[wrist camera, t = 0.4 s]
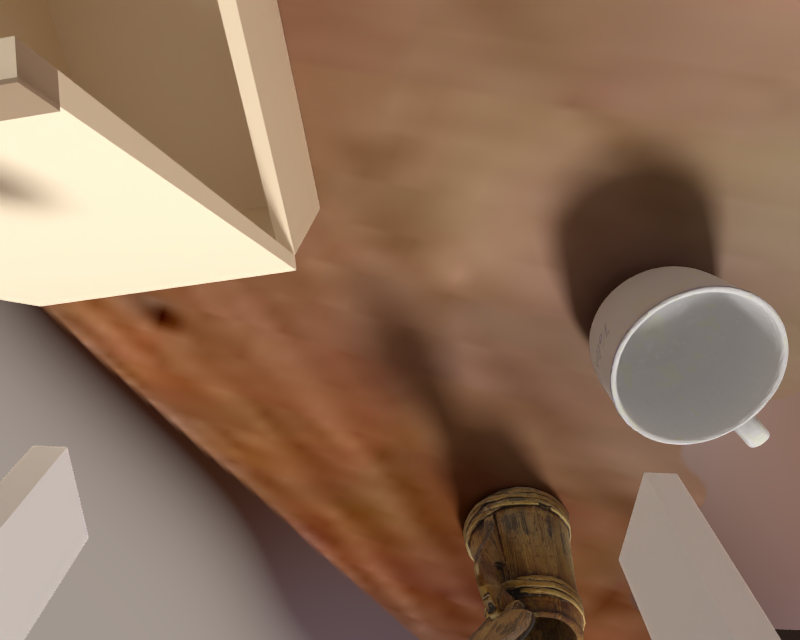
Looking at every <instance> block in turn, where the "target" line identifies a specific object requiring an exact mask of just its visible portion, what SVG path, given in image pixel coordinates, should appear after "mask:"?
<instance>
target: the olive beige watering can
mask: <svg viewBox="0 0 800 640" xmlns="http://www.w3.org/2000/svg"><path fill="white" fill-rule="evenodd" d="M463 536H464V540H465V544H466V547H467V550H468V553H469V556H470V557H471V558H472V560H473V561H474V570H475V576H476V581H477V586H478V589H479V592H480V595H481V598H482V600H483V603H484V605H485V609H484V615H485V618H486V620H485V621H484V623H483V624H482V625H481V626H480V627H479V628H478V630H477V631H476V632H474V633H473V634H472V635H471V636H470V637H469V638H468V639H467V640H584V634H583V631H584V626H585V616H584V609H583V605H582V600H581V598H580V597H579V595H578V593H577V588H576V581H575V574H574V567H573V560H572V553H571V546H570V540H571V530H570V521H569V514H568V512H567V511H566V509H565V507H564V506H563V504H561V503H560V502H559V501H558V500H557V499H556V498H555V497H553V496H551V495H550V494H548V493H546V492H543V491H540V490H538V489H535V488H531V487H513V488H508V489H504V490H500V491H499V492H497V493H494V494H491V495H490V496H488V497H486V498H485V499H483V500H482V501H480V502H479V503H477V504H476V505H475V506H474V508H473V509H472V510H471V511H470V512H469V514H468V517H467V519H466V521H465V524H464V529H463Z"/></svg>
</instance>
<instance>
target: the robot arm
mask: <svg viewBox="0 0 800 640" xmlns="http://www.w3.org/2000/svg"><path fill="white" fill-rule="evenodd" d="M88 538H89V537H88V533H87V528H86V524H85V521H84V516H83V512H82V507H81V503H80V499H79V495H78V491H77V486H76V483H75V478H74V474H73V469H72V465H71V461H70V457H69V453H68V448H67V447H55V446H32V447H31V448H30V449H29V450H28V452H27V453H26V454H25V455H24V456H23V457H22V458H21V459H20V460H19V461H18V463H17V464H16V465H15V466H14V467H13V468H12V469H11V470H10V471H9V472H8V473H7V475H6V476H5V477H4V478H3V479H2V480H1V481H0V640H25V638H26V636H27V635H28V633H29V632H30V630H31V628H32V627H33V625H34V624H35V622H36V621H37V619H38V617H39V616H40V614H41V613H42V611H43V609H44V608H45V606H46V605H47V603H48V602H49V600H50V598H51V597H52V595H53V594H54V592H55V590H56V589H57V587H58V586H59V584H60V582H61V581H62V579H63V578H64V576H65V574H66V573H67V571H68V570H69V568H70V567H71V565H72V563H73V562H74V560H75V559H76V557H77V555H78V554H79V552H80V551H81V549H82V548H83V546H84V544H85V543H86V541H87V540H88ZM619 562H620V564H621V566H622V569H623V571H624V574H625V576H626V579H627V581H628V583H629V586H630V588H631V591H632V593H633V595H634V598H635V600H636V603H637V605H638V608H639V610H640V612H641V615H642V617H643V620H644V622H645V625H646V627H647V629H648V632H649V634H650V637H651V639H652V640H800V630H779V629H774V628H773V626H772V624H771V623H770V621H769V620H768V618H767V616H766V615H765V613H764V612H763V610H762V608H761V607H760V605H759V604H758V602H757V600H756V599H755V597H754V596H753V594H752V592H751V591H750V589H749V588H748V586H747V584H746V583H745V581H744V580H743V578H742V577H741V575H740V573H739V572H738V570H737V569H736V567H735V565H734V564H733V562H732V561H731V559H730V557H729V556H728V554H727V553H726V551H725V549H724V548H723V546H722V545H721V543H720V541H719V540H718V538H717V537H716V535H715V534H714V532H713V530H712V529H711V527H710V526H709V524H708V522H707V521H706V519H705V518H704V516H703V514H702V513H701V511H700V510H699V508H698V506H697V505H696V503H695V502H694V500H693V498H692V497H691V495H690V494H689V492H688V490H687V489H686V487H685V486H684V484H683V483H682V481H681V479H680V478H679V476H678V475H677V474H666V473H644V474H643V478H642V481H641V485H640V488H639V492H638V495H637V499H636V502H635V506H634V509H633V512H632V516H631V519H630V523H629V526H628V530H627V533H626V537H625V540H624V544H623V547H622V550H621V554H620V557H619Z"/></svg>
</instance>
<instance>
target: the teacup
mask: <svg viewBox="0 0 800 640" xmlns="http://www.w3.org/2000/svg"><path fill="white" fill-rule="evenodd" d="M589 351H590V357H591V361H592V364H593V367H594V370H595V372H596V374H597V376H598V378H599V380H600V382H601V384H602V385H603V387H604V389H605V390H606V392H607V393H608V395H609V396H610V398H611V399H612V401H613V403H614V405H615V407H616V409H617V411H618V413H619V414H620V416H621V417H622V418H623V419H624V421H625V422H626V423H627V424H628V425H629V426H630V427H631V428H633V429H634V430H636V431H637V432H639V433H640V434H642V435H643V436H645V437H648V438H650V439H652V440H655V441H658V442H661V443H668V444H677V445H683V444H693V443H701V442H705V441H708V440H712V439H715V438H717V437H720V436H722V435H724V434H726V433H728V432H730V431H733V430H734V431H735V432H736V433H737V434H738V435H739V436H740V437H741V438H742V440H743V441H744V442H745V443H746V444H747V445H748V446H750V447H757V446H760V445H761V444H762V443H764V442H765V441H766V440H767V439H768V438H769V432H768V431H767V429H766V428H765V427H764V426H763V425H762V423H760V421H759V420H758V419H757V418H756V417H755V415H756V414H757V413H758V412H759V411H760V410H761V409H762V408H763V407H764V406H765V404H766V403H767V401H768V400H769V399H770V398H771V397H772V396H773V394H774V393H775V391H776V390H777V388H778V387H779V385H780V382H781V380H782V378H783V375H784V372H785V369H786V365H787V360H788V340H787V335H786V331H785V327H784V325H783V323H782V321H781V319H780V317H779V315H778V314H777V312H776V311H775V310H774V309H773V308H772V307H771V306H770V305H769V304H768V303H767V302H766V301H764V300H763V299H761V298H760V297H758V296H757V295H755V294H753V293H751V292H749V291H746V290H743V289H740V288H738V287H736V286H734V285H732V284H730V283H728V282H726V281H725V280H723V279H720V278H718V277H716V276H714V275H712V274H709V273H707V272H704V271H701V270H698V269H694V268H689V267H680V266H668V267H660V268H655V269H650V270H647V271H644V272H642V273H639V274H637V275H635V276H633V277H631V278H629V279H627V280H626V281H624V282H623V283H622V284H620V285H619V286H618V287H616V288H615V289H614V290H613V291H612V292H611V293H610V294H609V295H608V296H607V298H606V299H605V300H604V301H603V303H602V304H601V306H600V307H599V309H598V311H597V313H596V315H595V317H594V320H593V322H592V326H591V330H590V337H589Z"/></svg>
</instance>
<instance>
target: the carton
mask: <svg viewBox="0 0 800 640" xmlns="http://www.w3.org/2000/svg"><path fill="white" fill-rule="evenodd" d="M11 36H15V37H17V38H18V39H19V40H21V41H22V42H23V43H24V44H26V45H27V46H28V47H29V48H31V49H32V50H33V51H35V52H36V53H37V54H38V55H40V56H41V57H42V58H43V59H45V60H46V61H47V62H49V63H50V64H51V65H52V66H54V67H55V68H56V69H58V70H59V71H60V72H61V73H63V74H64V75H65V76H66V77H68V78H69V79H70V80H72V81H73V82H74V83H75V84H77V85H78V86H79V87H80V88H82V89H83V90H84V91H86V92H87V93H88V94H89V95H91V96H92V97H93V98H95V99H96V100H97V101H98V102H100V103H101V104H102V105H103V106H105V107H106V108H107V109H109V110H110V111H111V112H112V113H114V114H115V115H116V116H117V117H119V118H120V119H121V120H123V121H124V122H125V123H126V124H128V125H129V126H130V127H132V128H133V129H134V130H135V131H137V132H138V133H139V134H140V135H142V136H143V137H144V138H146V139H147V140H148V141H149V142H151V143H152V144H153V145H154V146H156V147H157V148H158V149H160V150H161V151H162V152H163V153H165V154H166V155H167V156H169V157H170V158H171V159H172V160H174V161H175V162H176V163H177V164H179V165H180V166H181V167H183V168H184V169H185V170H186V171H188V172H189V173H190V174H192V175H193V176H194V177H195V178H197V179H198V180H199V181H200V182H202V183H203V184H204V185H206V186H207V187H208V188H209V189H211V190H212V191H213V192H214V193H216V194H217V195H218V196H220V197H221V198H222V199H223V200H225V201H226V202H227V203H229V204H230V205H231V206H232V207H234V208H235V209H236V210H237V211H239V212H240V213H241V214H243V215H244V216H245V217H246V218H248V219H249V220H250V221H251V222H253V223H254V224H255V225H257V226H258V227H259V228H260V229H262V230H263V231H264V232H266V233H267V234H268V235H269V236H271V237H272V238H273V239H274V240H276V241H277V242H278V243H280V244H281V245H282V246H283V247H285V248H286V249H287V250H288V251H290V252H291V253H292V254H294V255H295V254H296V252H297V250H298V248H299V246H300V245H301V243H302V241H303V239H304V237H305V235H306V233H307V232H308V230H309V228H310V226H311V224H312V222H313V221H314V219H315V217H316V215H317V213H318V211H319V210H320V206H319V201H318V196H317V191H316V187H315V182H314V177H313V172H312V167H311V162H310V158H309V153H308V148H307V143H306V138H305V134H304V129H303V124H302V119H301V114H300V109H299V105H298V100H297V95H296V90H295V85H294V81H293V76H292V71H291V66H290V61H289V56H288V52H287V47H286V42H285V37H284V32H283V27H282V23H281V18H280V13H279V8H278V3H277V0H0V38H5V37H11Z"/></svg>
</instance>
